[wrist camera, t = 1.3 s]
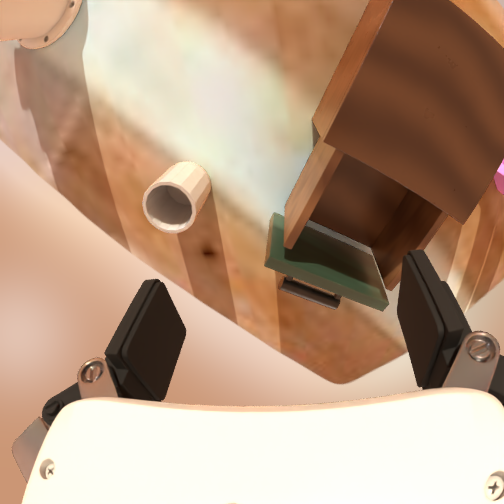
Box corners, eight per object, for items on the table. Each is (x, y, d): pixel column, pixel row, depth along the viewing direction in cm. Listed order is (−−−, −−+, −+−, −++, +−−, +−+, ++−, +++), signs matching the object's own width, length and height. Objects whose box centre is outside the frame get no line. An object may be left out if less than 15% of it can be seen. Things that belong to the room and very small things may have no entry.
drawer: (349, 286, 39) (359, 336, 31) (255, 249, 37) (246, 298, 30) (430, 165, 28) (468, 197, 21) (327, 104, 27) (342, 116, 20)
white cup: (160, 196, 35) (138, 221, 30) (172, 154, 32) (149, 173, 27) (202, 212, 36) (187, 241, 31) (217, 171, 33) (203, 194, 28)
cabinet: (421, 181, 31) (463, 225, 22) (311, 119, 29) (322, 142, 20) (478, 74, 22) (537, 86, 13) (370, -2, 20) (406, -29, 11)
